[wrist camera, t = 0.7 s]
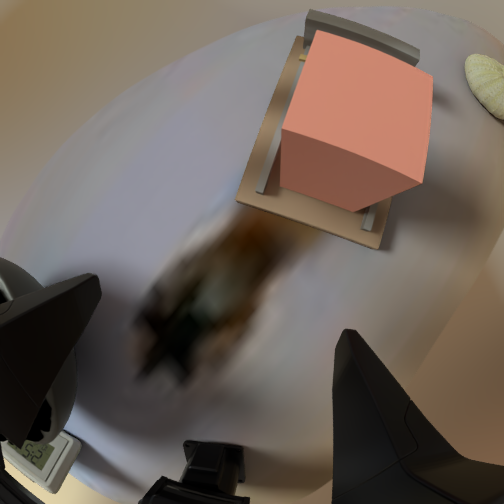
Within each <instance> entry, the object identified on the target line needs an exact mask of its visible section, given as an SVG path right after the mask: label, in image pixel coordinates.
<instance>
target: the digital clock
mask: <svg viewBox="0 0 504 504" xmlns="http://www.w3.org/2000/svg"><path fill="white" fill-rule="evenodd" d="M1 447H2V453H3V457H4V458H5V459H6V460H7V461H8V462H9V463H11V464H12V465H13V466H14V467H15V468H16V469H18V470H19V471H20V472H21V473H23V474H24V475H25V476H26V477H28V478H29V479H30V480H32V481H33V482H35V483H37V484H38V485H39V486H41V487H42V488H44V489H45V490H47V491H49V492H50V493H52V494H56V493H57V492H58V491H59V489H60V487H61V486H62V483H63V482H64V480H65V478H66V476H67V474H68V472H69V470H70V469H71V467H72V465H73V463H74V461H75V459H76V458H77V456H78V454H79V452H80V450H81V447H82V446H81V443H80V441H79V440H78V439H76V438H74V437H72V436H70V435H68V434H67V433H66V432H65V431H63V430H62V431H61V432H60V434H59V435H58V436H57V437H56V438H55V439H54V440H53V441H52V442H50V443H48V444H36V443H33V442H31V441H29V440H26V441H25V442H24V445H23V447H22V449H21V450H20V449H19V448H17V447H16V446H15V445H11V444H10V443H9V442H8V440H6V441H4V442H1Z"/></svg>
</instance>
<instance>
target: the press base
mask: <svg viewBox="0 0 504 504" xmlns="http://www.w3.org/2000/svg"><path fill="white" fill-rule="evenodd" d="M317 30H320V31H323V32H327V33H330V34H334V35H337V36H340V37H343V38H346V39H349V40H352V41H355V42H358V43H361V44H363V45H366V46H369V47H371V48H374V49H376V50H379V51H381V52H383V53H386V54H388V55H390V56H393V57H395V58H397V59H399V60H401V61H403V62H405V63H408V64H410V65H412V66H414V67H415V66H416V64H417V63H418V62H419V60H420V50H419V49H417V48H415V47H413V46H411V45H409V44H407V43H405V42H403V41H401V40H399V39H396V38H394V37H392V36H390V35H387V34H385V33H382V32H380V31H378V30H375V29H372V28H370V27H367V26H364V25H362V24H359V23H356V22H353V21H350V20H347V19H344V18H341V17H337V16H334V15H330V14H327V13H323V12H319V11H315V10H311V9H310V10H309V12H308V14H307V17H306V22H305V32H304V37H301V36H297V37H296V39H295V42H294V44H293V46H292V49H291V51H290V54H289V56H288V59H287V61H286V63H285V66H284V68H283V71H282V73H281V76H280V78H279V81H278V84H277V86H276V89H275V91H274V94H273V96H272V99H271V102H270V104H269V107H268V109H267V112H266V115H265V117H264V120H263V123H262V125H261V128H260V131H259V133H258V136H257V139H256V141H255V144H254V147H253V150H252V152H251V155H250V158H249V161H248V163H247V166H246V169H245V172H244V175H243V178H242V180H241V183H240V186H239V189H238V192H237V195H236V198H235V200H236V201H237V202H238V203H241V204H244V205H247V206H250V207H253V208H257V209H260V210H263V211H266V212H269V213H272V214H275V215H278V216H281V217H284V218H287V219H290V220H293V221H296V222H299V223H301V224H304V225H307V226H310V227H313V228H316V229H319V230H321V231H324V232H327V233H330V234H333V235H335V236H338V237H341V238H344V239H346V240H349V241H352V242H354V243H357V244H360V245H363V246H365V247H368V248H370V249H378V248H379V245H380V242H381V238H382V235H383V231H384V228H385V224H386V220H387V217H388V213H389V209H390V205H391V201H392V197H393V196H391V197H389V198H386V199H384V200H382V201H379V202H377V203H374V204H372V205H370V206H367V207H365V208H362V209H360V210H358V211H355V212H351V211H348V210H346V209H343V208H340V207H338V206H335V205H332V204H330V203H327V202H324V201H321V200H318V199H316V198H313V197H310V196H307V195H304V194H301V193H298V192H295V191H292V190H289V189H286V188H283V187H280V165H281V128H282V125H283V123H284V120H285V117H286V114H287V111H288V108H289V106H290V103H291V100H292V97H293V94H294V91H295V89H296V86H297V83H298V80H299V77H300V75H301V72H302V69H303V66H304V64H305V61H306V58H307V55H308V53H309V50H310V47H311V44H312V42H313V39H314V36H315V33H316V31H317Z"/></svg>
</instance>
